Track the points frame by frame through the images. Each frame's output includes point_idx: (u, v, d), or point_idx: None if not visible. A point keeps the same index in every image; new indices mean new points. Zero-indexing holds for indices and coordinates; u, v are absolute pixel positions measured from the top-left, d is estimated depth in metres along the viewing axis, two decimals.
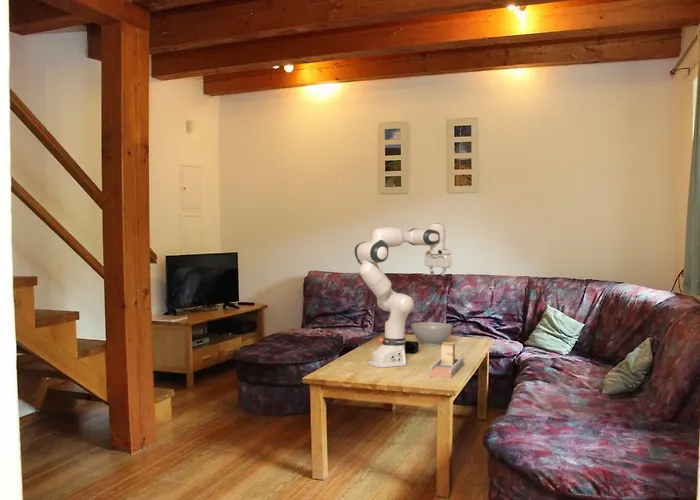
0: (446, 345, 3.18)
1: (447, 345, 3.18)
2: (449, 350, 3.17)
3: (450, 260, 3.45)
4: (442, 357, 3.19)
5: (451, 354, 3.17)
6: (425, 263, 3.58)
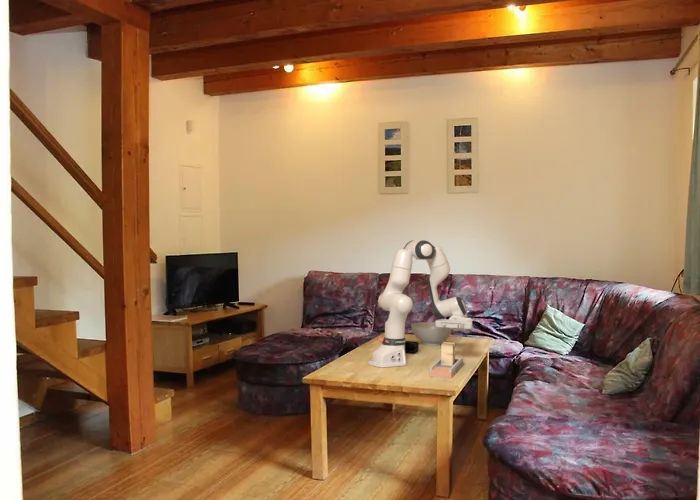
0: (446, 345, 3.18)
1: (447, 345, 3.18)
2: (449, 350, 3.17)
3: None
4: (442, 357, 3.19)
5: (451, 354, 3.17)
6: (438, 320, 3.36)
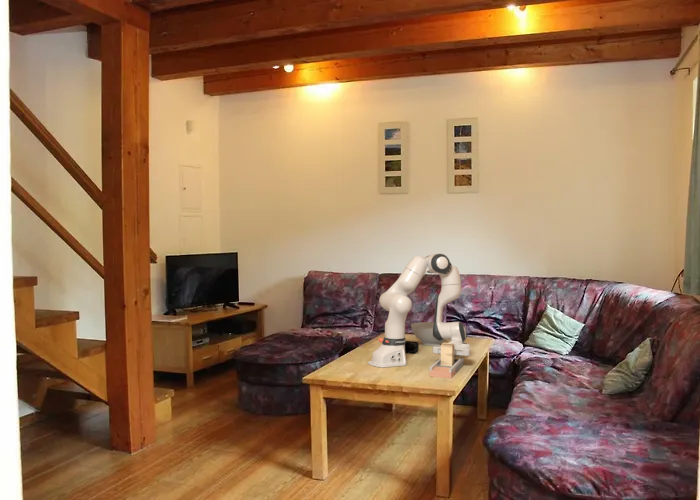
0: (445, 345, 3.17)
1: (446, 345, 3.16)
2: (448, 350, 3.16)
3: None
4: (441, 358, 3.17)
5: (451, 355, 3.16)
6: (435, 346, 3.31)
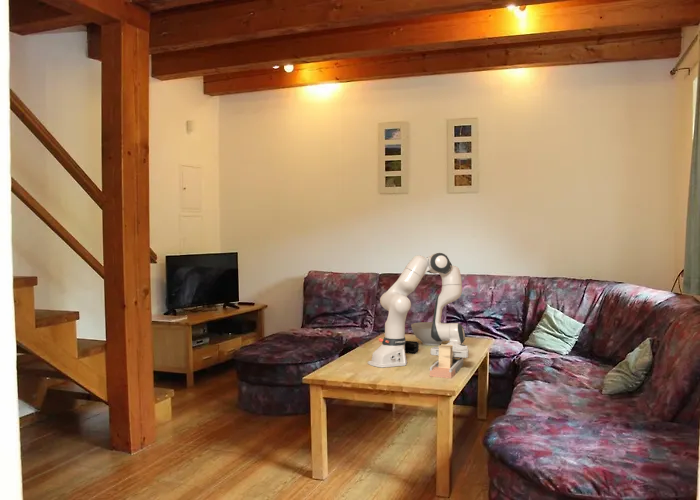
0: (443, 347, 3.12)
1: (444, 347, 3.11)
2: (446, 352, 3.11)
3: None
4: (439, 360, 3.13)
5: (449, 356, 3.11)
6: (433, 348, 3.26)
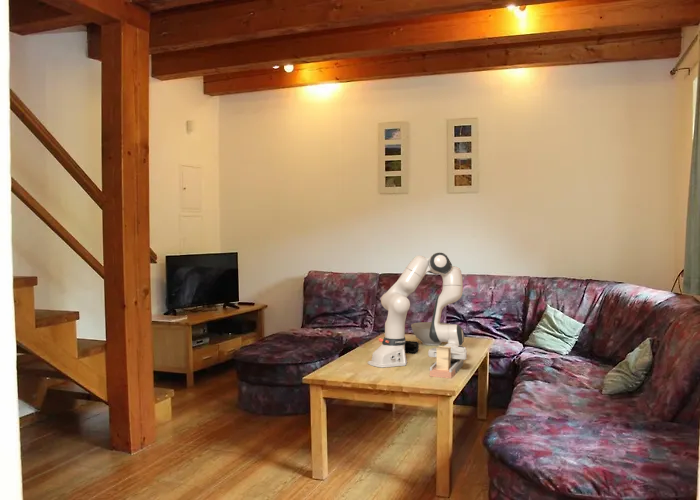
0: (441, 349, 3.07)
1: (442, 349, 3.07)
2: (445, 354, 3.06)
3: None
4: (437, 361, 3.08)
5: (447, 358, 3.06)
6: (431, 349, 3.21)
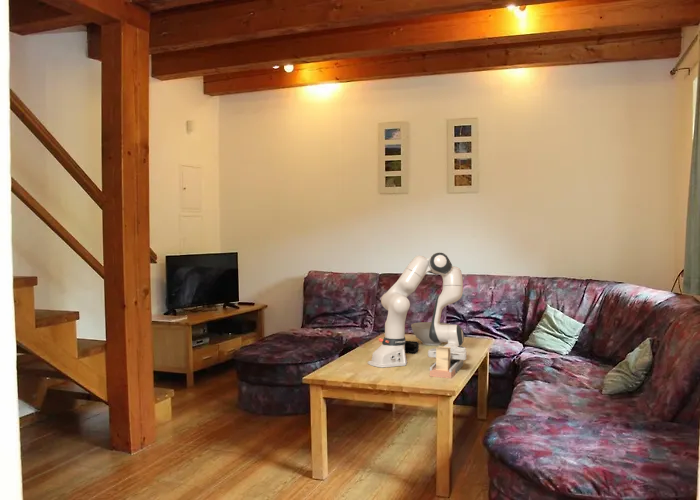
0: (441, 349, 3.06)
1: (442, 349, 3.06)
2: (444, 355, 3.06)
3: None
4: (437, 362, 3.07)
5: (446, 359, 3.05)
6: (431, 350, 3.21)
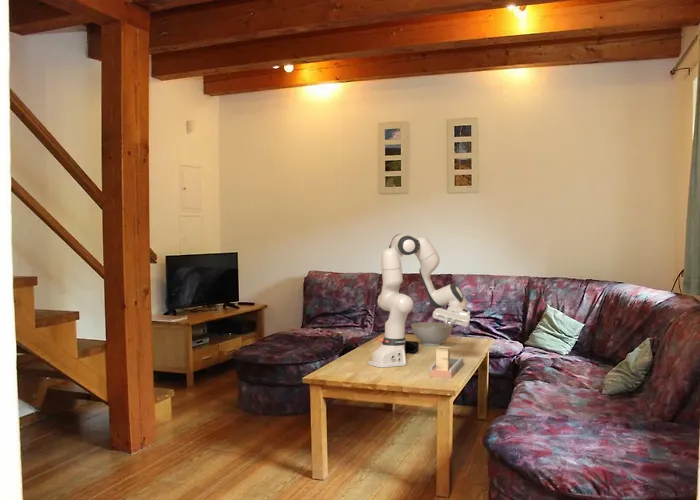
0: (441, 349, 3.06)
1: (442, 349, 3.06)
2: (444, 355, 3.06)
3: None
4: (437, 362, 3.07)
5: (446, 359, 3.05)
6: (436, 311, 3.31)
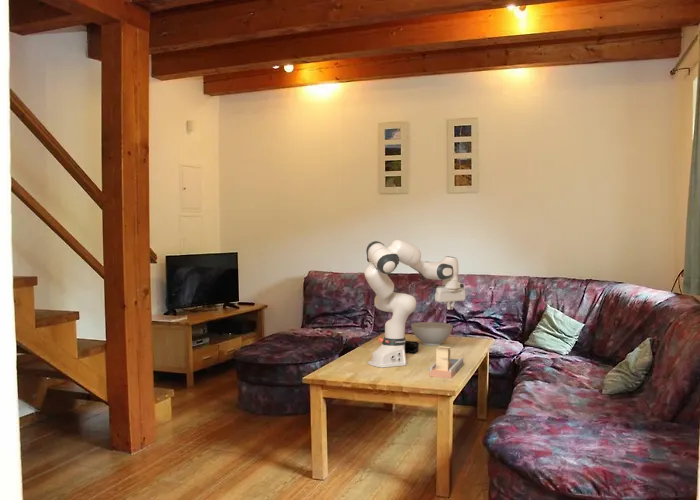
0: (441, 349, 3.06)
1: (442, 349, 3.06)
2: (444, 355, 3.06)
3: None
4: (437, 362, 3.07)
5: (446, 359, 3.05)
6: (440, 299, 3.36)
